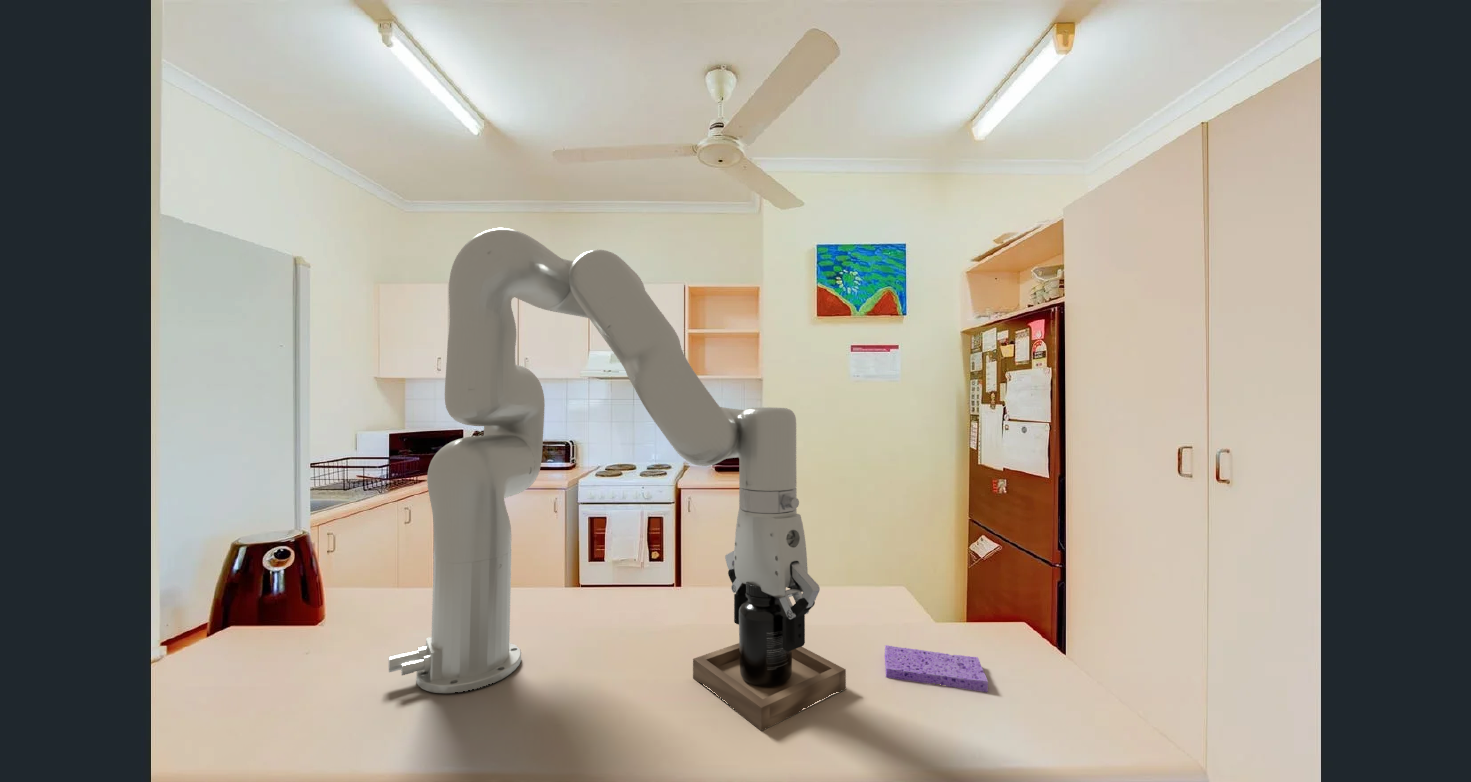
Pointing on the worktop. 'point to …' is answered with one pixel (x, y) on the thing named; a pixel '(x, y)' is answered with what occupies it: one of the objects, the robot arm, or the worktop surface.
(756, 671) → the supplement bottle
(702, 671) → the walnut tray
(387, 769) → the worktop surface
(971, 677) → the sponges
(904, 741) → the worktop surface
